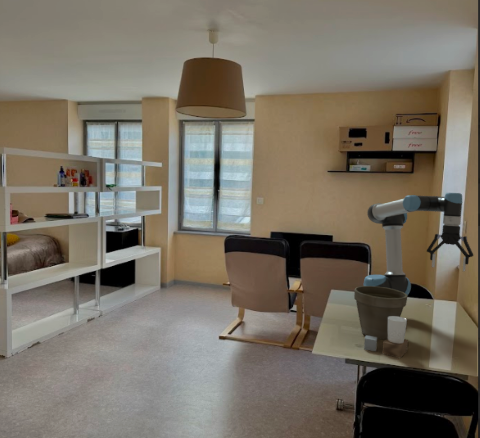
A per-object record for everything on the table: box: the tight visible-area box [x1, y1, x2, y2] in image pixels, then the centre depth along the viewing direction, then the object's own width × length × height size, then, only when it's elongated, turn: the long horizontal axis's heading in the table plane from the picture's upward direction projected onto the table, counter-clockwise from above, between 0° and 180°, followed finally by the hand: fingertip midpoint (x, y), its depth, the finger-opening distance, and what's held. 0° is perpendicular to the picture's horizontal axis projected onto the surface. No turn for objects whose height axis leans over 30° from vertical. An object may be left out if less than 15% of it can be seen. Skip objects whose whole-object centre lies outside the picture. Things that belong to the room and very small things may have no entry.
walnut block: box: [382, 338, 409, 359], centre depth 192 cm, size 8×11×5 cm
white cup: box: [388, 316, 408, 344], centre depth 191 cm, size 8×8×10 cm
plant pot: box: [353, 285, 408, 340], centre depth 215 cm, size 25×25×22 cm
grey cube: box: [363, 335, 378, 352], centre depth 195 cm, size 5×5×5 cm
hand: (448, 269), depth 210 cm, fingers open, 13 cm apart
